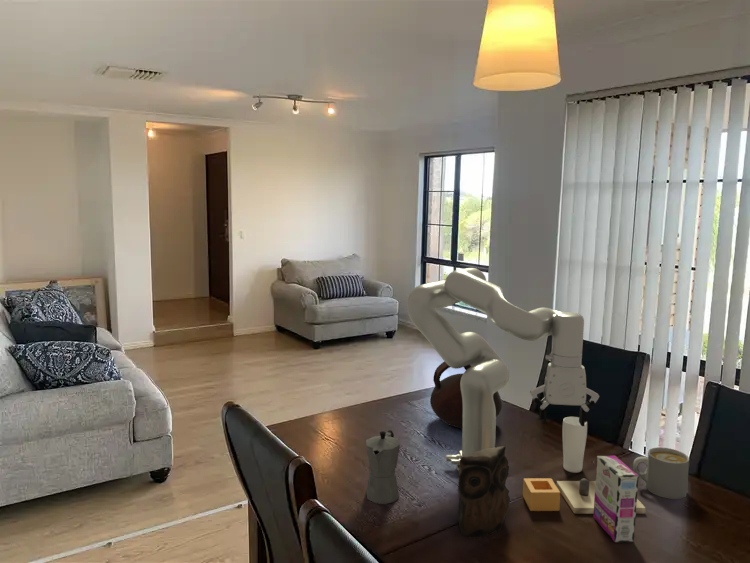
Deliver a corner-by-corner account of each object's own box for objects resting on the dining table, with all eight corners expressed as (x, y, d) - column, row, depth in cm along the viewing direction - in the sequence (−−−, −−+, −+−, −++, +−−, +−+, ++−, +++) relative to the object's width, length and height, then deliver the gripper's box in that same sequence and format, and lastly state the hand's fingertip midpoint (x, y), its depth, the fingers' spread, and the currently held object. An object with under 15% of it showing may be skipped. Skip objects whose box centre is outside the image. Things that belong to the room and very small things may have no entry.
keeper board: (574, 513, 143) (575, 492, 142) (556, 486, 157) (557, 466, 156) (645, 513, 143) (646, 492, 142) (621, 486, 157) (622, 466, 156)
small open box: (530, 510, 144) (531, 492, 144) (522, 495, 152) (523, 478, 151) (559, 510, 144) (560, 492, 144) (550, 495, 152) (551, 478, 151)
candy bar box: (635, 542, 131) (640, 475, 129) (614, 543, 130) (618, 476, 128) (611, 516, 142) (615, 454, 140) (592, 517, 141) (595, 454, 139)
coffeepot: (392, 511, 144) (393, 444, 142) (357, 505, 147) (357, 439, 145) (407, 482, 159) (408, 421, 156) (375, 478, 162) (375, 417, 159)
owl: (510, 519, 141) (512, 442, 138) (502, 547, 129) (504, 464, 126) (460, 509, 145) (461, 434, 142) (447, 535, 134) (449, 455, 131)
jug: (431, 408, 216) (432, 344, 213) (498, 411, 213) (500, 347, 210) (428, 434, 192) (429, 363, 189) (504, 438, 188) (506, 366, 185)
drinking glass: (586, 475, 163) (589, 426, 161) (562, 473, 164) (564, 424, 162) (582, 465, 169) (585, 417, 167) (559, 463, 171) (561, 415, 169)
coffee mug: (687, 486, 156) (690, 452, 155) (684, 502, 148) (687, 466, 147) (635, 474, 164) (637, 441, 162) (629, 489, 155) (632, 454, 154)
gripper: (534, 362, 144) (530, 426, 146) (604, 365, 142) (600, 430, 144) (529, 354, 151) (527, 416, 154) (597, 357, 149) (593, 419, 151)
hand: (562, 423), depth 149 cm, fingers open, 9 cm apart
